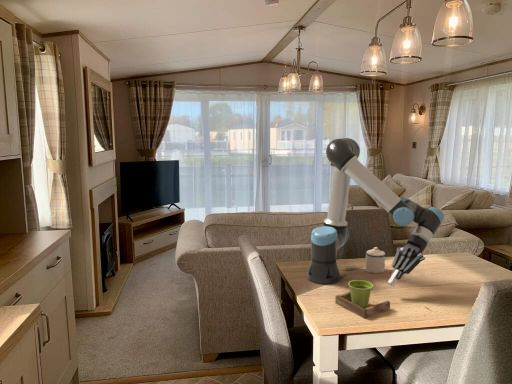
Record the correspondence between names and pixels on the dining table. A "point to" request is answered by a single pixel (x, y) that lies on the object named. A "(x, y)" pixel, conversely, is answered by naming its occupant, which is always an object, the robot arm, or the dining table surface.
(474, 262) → the dining table surface
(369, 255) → the teacup with lid
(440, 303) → the dining table surface
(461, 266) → the dining table surface
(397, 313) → the dining table surface
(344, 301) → the walnut bay
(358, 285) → the plant pot
